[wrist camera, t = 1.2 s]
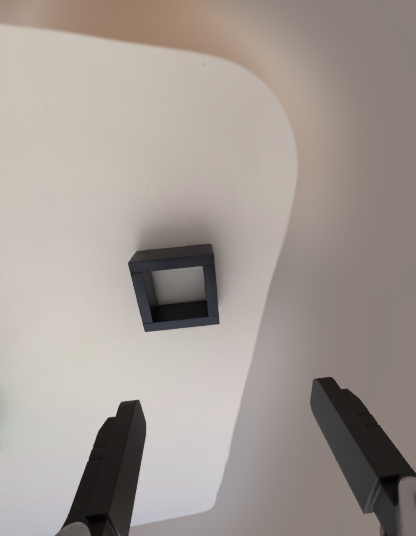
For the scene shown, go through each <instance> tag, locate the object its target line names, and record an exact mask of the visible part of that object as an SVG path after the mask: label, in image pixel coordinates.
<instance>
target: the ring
mask: <svg viewBox="0 0 416 536" xmlns="http://www.w3.org/2000/svg"><path fill="white" fill-rule="evenodd" d="M128 265H129V269H130V273H131V278H132V282H133V286H134V290H135V294H136V298H137V302H138V306H139V310H140V314H141V318H142V322H143V326H144V330H145V332H150V331H159V330H168V329H178V328H187V327H196V326H205V325H214V324H219V312H218V300H217V287H216V275H215V263H214V253H213V249H212V245H211V244H205V245H195V246H185V247H175V248H165V249H156V250H146V251H137V252H136V253H135V254H134V255H133V257H132V258H131V260H130V261H129V262H128ZM196 266H203V270H204V280H205V290H206V299H207V300H205V301H196V302H187V303H177V304H168V305H158V304H157V299H156V294H155V289H154V285H153V280H152V275H151V271H157V270H167V269H177V268H186V267H196Z"/></svg>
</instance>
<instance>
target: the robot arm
mask: <svg viewBox="0 0 416 536" xmlns="http://www.w3.org/2000/svg"><path fill="white" fill-rule="evenodd" d="M310 404H311V409H312V412H313V415H314V417H315V418H316V421H317V423H318V425H319V426H320V429H321V431H322V433H323V435H324V436H325V438H326V440H327V442H328V444H329V446H330V448H331V450H332V452H333V454H334V456H335V458H336V460H337V462H338V464H339V466H340V468H341V470H342V472H343V474H344V476H345V478H346V480H347V482H348V484H349V486H350V487H351V489H352V492H353V493H354V495H355V497H356V499H357V501H358V503H359V505H360V507H361V509H362V511H363V513H364V514H366V513H372V512H374V513H375V514H376V516H377V518H378V520H379V522H380V536H416V473H415V472H414V470H413V469H412V468H411V467H410V465H409V464H408V463H407V461H406V460H405V459H404V457H403V456H402V455H401V453H400V452H399V451H398V449H397V448H396V447H395V445H394V444H393V443H392V441H391V440H390V439H389V437H388V436H387V435H386V433H385V432H384V431H383V429H382V428H381V427H380V425H378V424H377V422H376V420H375V419H374V417H373V416H372V415H371V414H370V413H369V411H368V409H367V408H366V407H365V405H364V404H363V403H362V401H361V400H360V399H359V398H358V397H357V396H355V395H354V394H353V393H352V392H350V391H349V390H348V389H340V387H339V386H338V384H337V383H336V381H335V380H334V379H333V378H332V377H326V378H318V379H314V380H313V385H312V392H311V399H310ZM145 437H146V421H145V417H144V414H143V411H142V407H141V404H140V401H139V400H132V401H124V402H121V403H120V405H119V408H118V411H117V414H116V417H110V418H108V419H107V420H106V421H105V423H104V424H103V426H102V427H101V428H100V430H99V432H98V434H97V437H96V440H95V443H94V445H93V449H92V451H91V454H90V456H89V461H88V462H87V465H86V468H85V470H84V473H83V476H82V479H81V481H80V484H79V487H78V490H77V492H76V495H75V498H74V501H73V504H72V506H71V509H70V512H69V514H68V517H67V519H66V521H65V523H64V525H63V526H62V528H61V530H60V531H59V532H58V533H57V534H56V535H55V536H128V534H129V529H130V523H131V517H132V511H133V506H134V500H135V494H136V489H137V483H138V477H139V471H140V466H141V460H142V454H143V449H144V443H145Z"/></svg>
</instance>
